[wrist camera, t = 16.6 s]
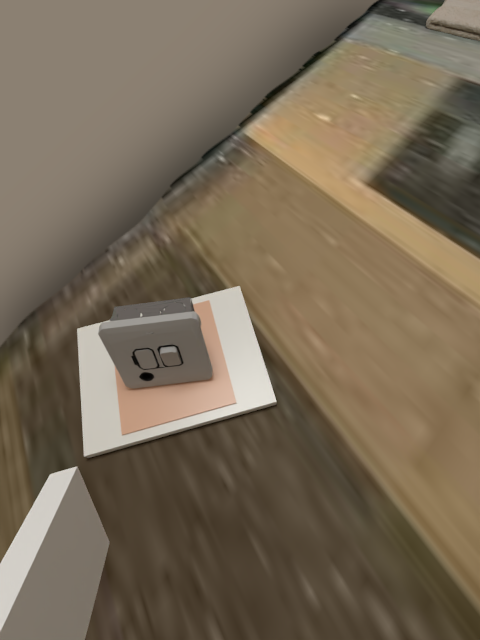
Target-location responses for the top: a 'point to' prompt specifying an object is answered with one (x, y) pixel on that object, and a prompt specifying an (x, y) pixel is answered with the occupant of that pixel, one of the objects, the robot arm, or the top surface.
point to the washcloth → (457, 18)
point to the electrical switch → (157, 343)
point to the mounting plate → (180, 398)
